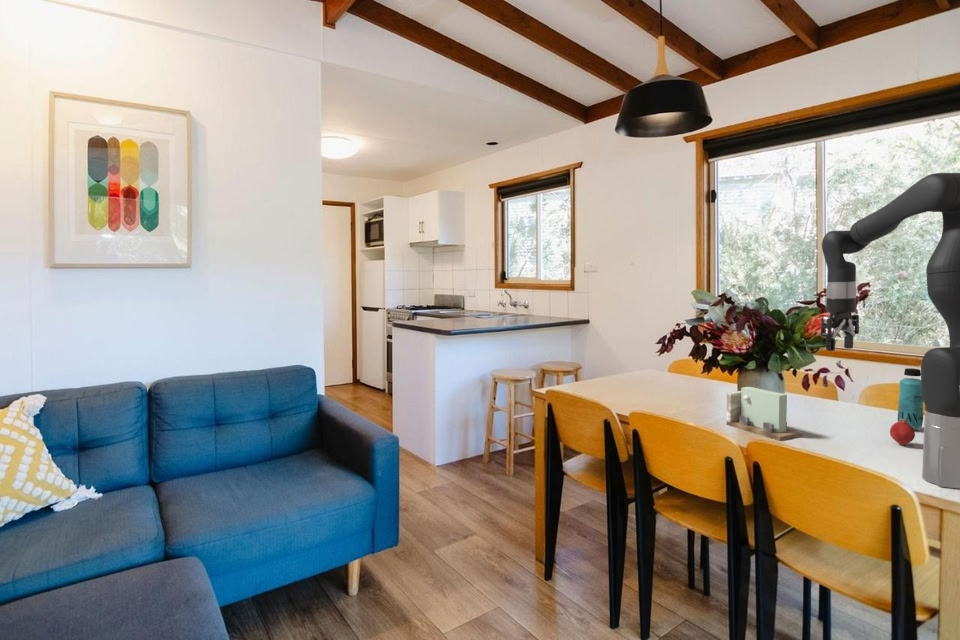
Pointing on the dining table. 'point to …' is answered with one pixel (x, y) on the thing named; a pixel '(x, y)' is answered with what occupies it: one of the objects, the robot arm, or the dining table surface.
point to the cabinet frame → (743, 422)
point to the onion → (902, 432)
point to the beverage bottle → (911, 399)
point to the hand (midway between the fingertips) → (839, 349)
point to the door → (764, 407)
